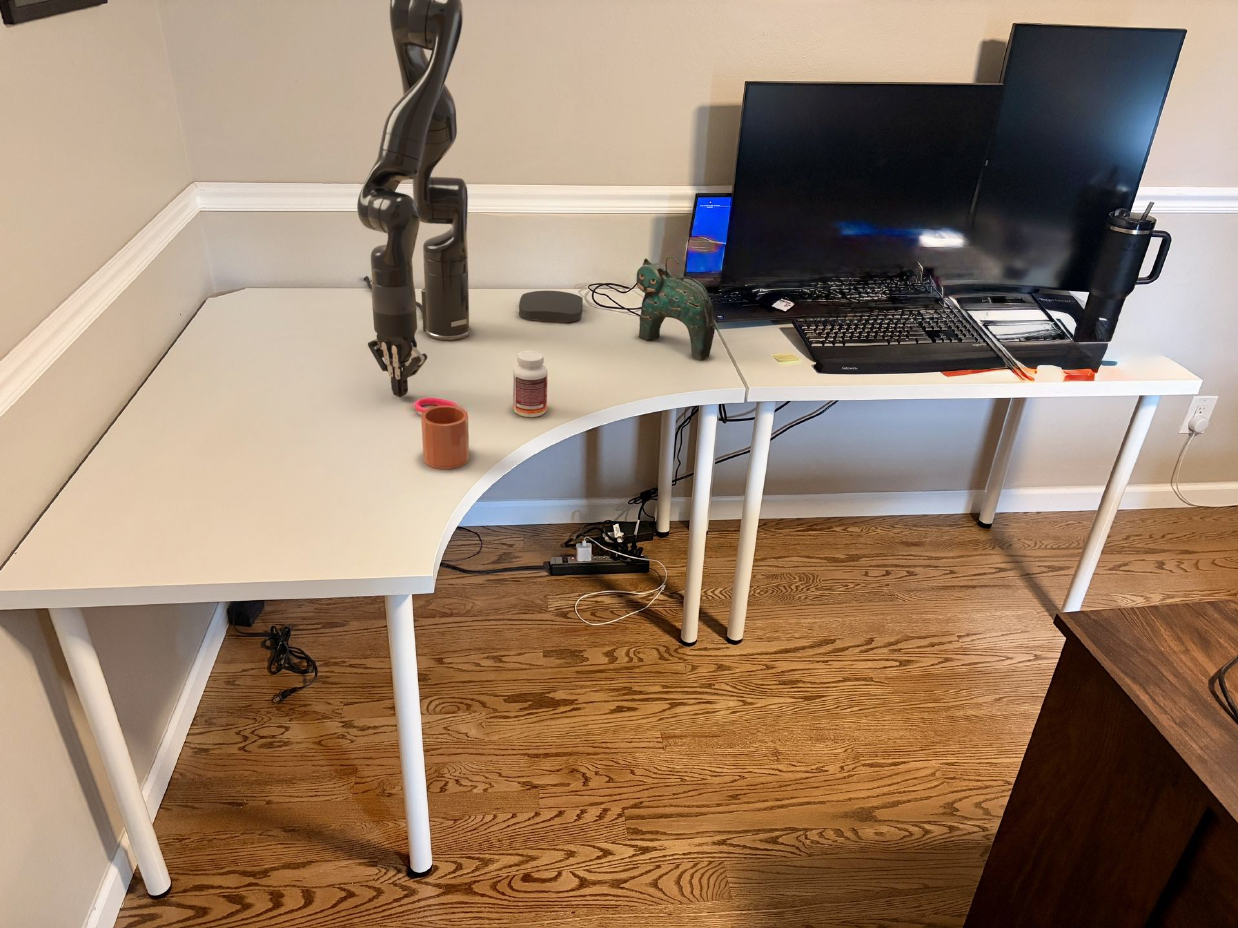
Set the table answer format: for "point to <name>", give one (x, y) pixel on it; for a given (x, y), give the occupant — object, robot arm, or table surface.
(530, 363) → the pill bottle
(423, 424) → the clay pot
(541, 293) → the media streaming box
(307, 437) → the table surface
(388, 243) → the robot arm
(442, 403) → the fitness band
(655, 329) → the ceramic cat
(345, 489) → the table surface
